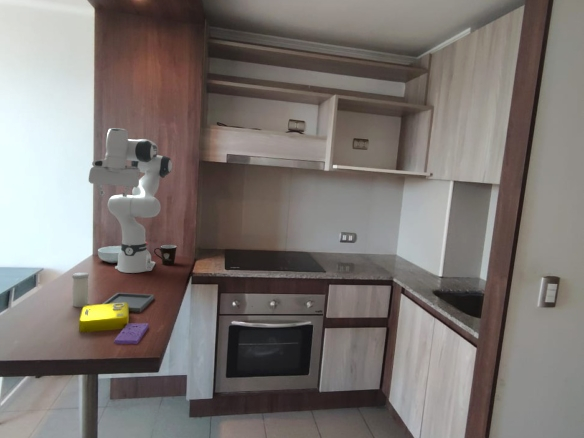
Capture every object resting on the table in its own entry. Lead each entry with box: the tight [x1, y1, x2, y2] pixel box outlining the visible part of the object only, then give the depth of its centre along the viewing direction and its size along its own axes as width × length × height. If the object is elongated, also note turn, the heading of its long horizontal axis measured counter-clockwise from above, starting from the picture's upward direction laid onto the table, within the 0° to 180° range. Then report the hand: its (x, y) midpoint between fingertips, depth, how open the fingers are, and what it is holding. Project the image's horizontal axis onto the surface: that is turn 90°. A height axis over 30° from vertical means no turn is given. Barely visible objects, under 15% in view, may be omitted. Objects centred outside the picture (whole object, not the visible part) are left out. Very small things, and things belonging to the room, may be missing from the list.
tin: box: [71, 272, 89, 308], centre depth 143 cm, size 5×5×12 cm
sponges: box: [113, 322, 149, 345], centre depth 122 cm, size 7×13×2 cm, turn 6°
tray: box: [102, 292, 155, 313], centre depth 147 cm, size 15×15×2 cm
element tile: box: [78, 303, 130, 333], centre depth 130 cm, size 15×15×5 cm
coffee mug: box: [153, 244, 177, 266], centre depth 210 cm, size 12×9×10 cm
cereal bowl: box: [97, 245, 122, 264], centre depth 207 cm, size 17×17×7 cm
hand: (113, 195), depth 164 cm, fingers open, 8 cm apart
